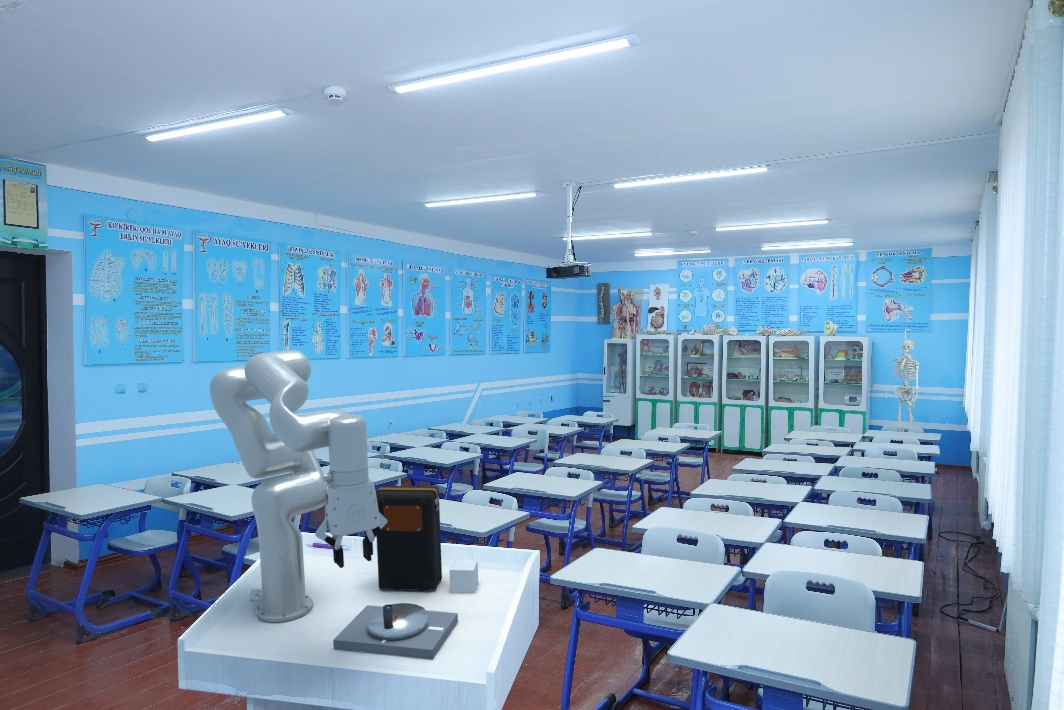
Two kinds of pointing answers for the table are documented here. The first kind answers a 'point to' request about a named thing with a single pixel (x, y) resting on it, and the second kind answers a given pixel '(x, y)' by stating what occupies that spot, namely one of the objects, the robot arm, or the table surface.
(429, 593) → the table surface
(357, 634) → the grey base plate
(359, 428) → the robot arm
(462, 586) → the light grey cube
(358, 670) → the table surface
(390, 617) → the dial
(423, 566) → the voltmeter
